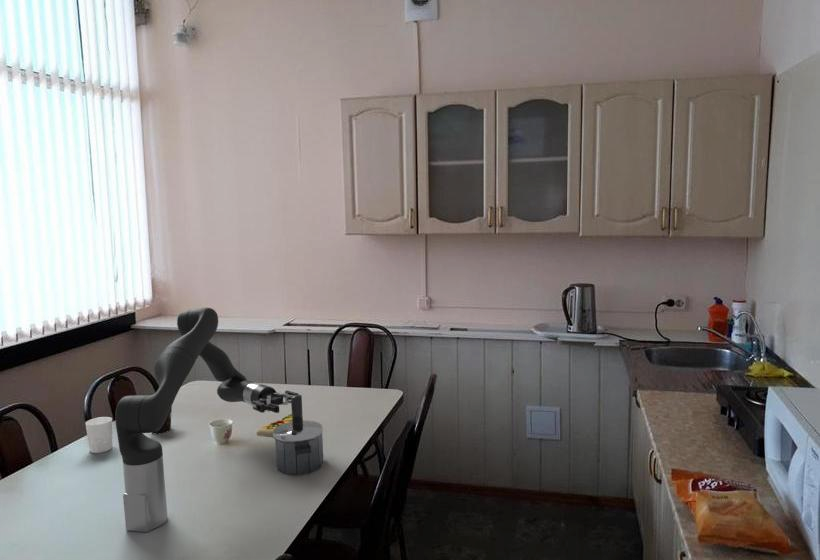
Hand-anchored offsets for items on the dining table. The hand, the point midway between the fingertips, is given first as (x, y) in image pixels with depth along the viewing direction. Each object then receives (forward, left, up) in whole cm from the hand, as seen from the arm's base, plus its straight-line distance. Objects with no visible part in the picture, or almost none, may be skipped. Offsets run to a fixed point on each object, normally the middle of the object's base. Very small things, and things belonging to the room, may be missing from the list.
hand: (289, 405), depth 182 cm
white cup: (0, +69, -18) cm, 71 cm away
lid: (-2, -3, -8) cm, 9 cm away
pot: (-2, -3, -18) cm, 19 cm away
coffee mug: (+20, +59, -18) cm, 65 cm away
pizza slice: (+29, +15, -19) cm, 37 cm away
